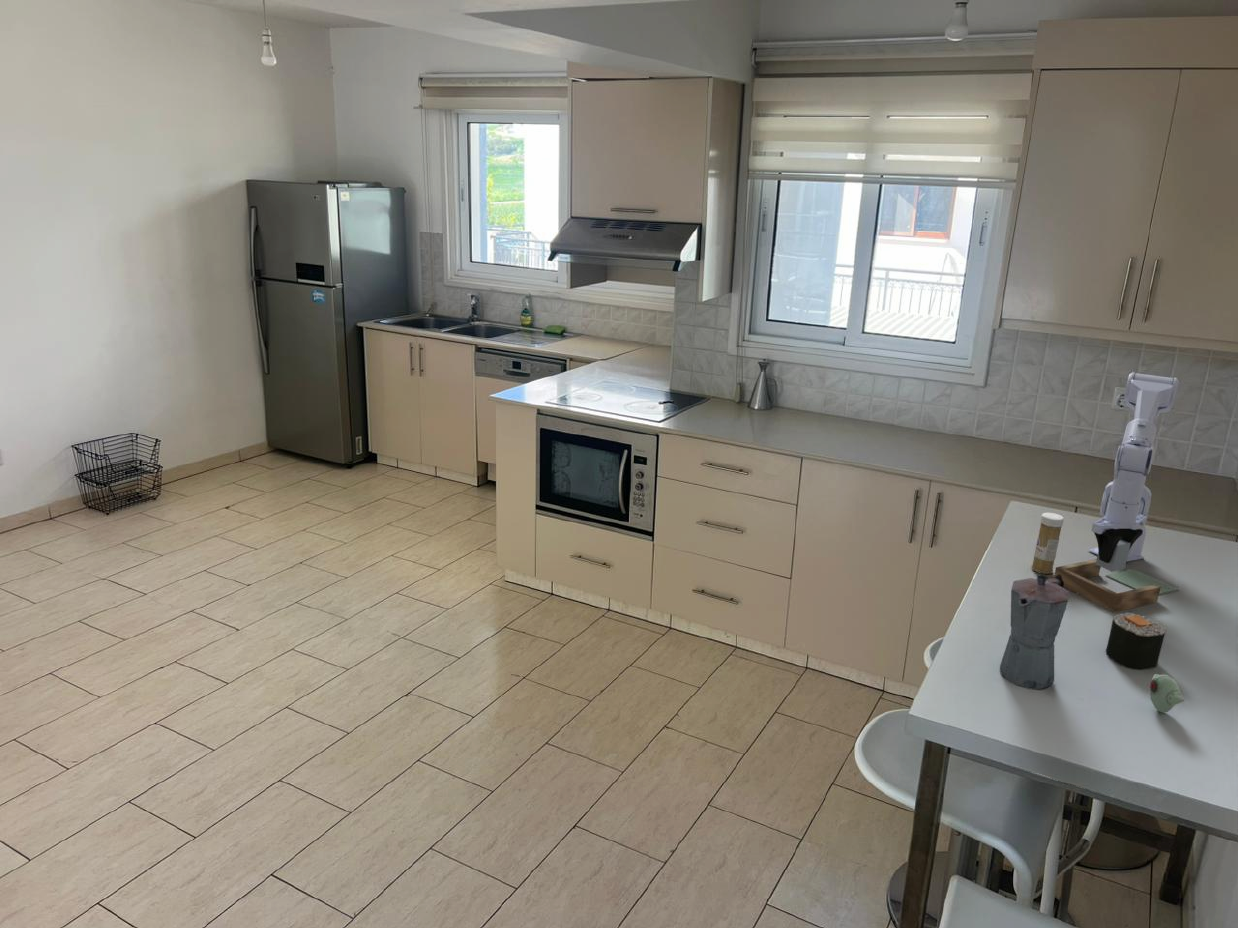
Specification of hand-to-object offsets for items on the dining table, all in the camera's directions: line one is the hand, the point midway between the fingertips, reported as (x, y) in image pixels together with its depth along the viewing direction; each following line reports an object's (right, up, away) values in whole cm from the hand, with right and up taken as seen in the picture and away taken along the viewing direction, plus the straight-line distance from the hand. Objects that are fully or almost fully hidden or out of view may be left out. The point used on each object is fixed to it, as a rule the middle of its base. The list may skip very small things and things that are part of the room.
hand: (1111, 559), depth 194 cm
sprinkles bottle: (-9, -4, +12) cm, 16 cm away
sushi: (-10, -16, -25) cm, 31 cm away
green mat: (+11, -6, +7) cm, 14 cm away
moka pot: (-33, -17, -32) cm, 49 cm away
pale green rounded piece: (-15, -21, -42) cm, 49 cm away
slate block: (0, -2, +1) cm, 2 cm away
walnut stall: (0, -7, +2) cm, 8 cm away
